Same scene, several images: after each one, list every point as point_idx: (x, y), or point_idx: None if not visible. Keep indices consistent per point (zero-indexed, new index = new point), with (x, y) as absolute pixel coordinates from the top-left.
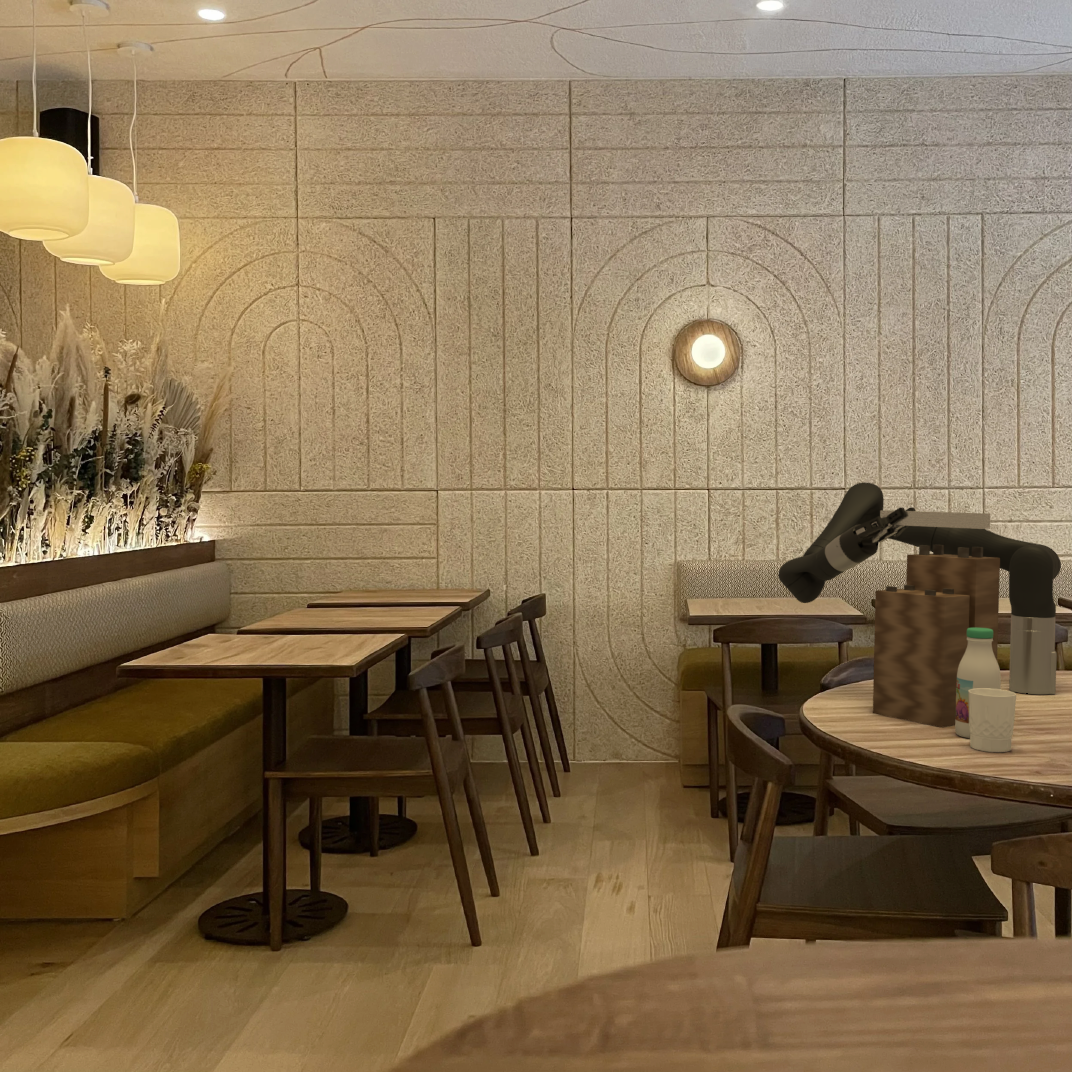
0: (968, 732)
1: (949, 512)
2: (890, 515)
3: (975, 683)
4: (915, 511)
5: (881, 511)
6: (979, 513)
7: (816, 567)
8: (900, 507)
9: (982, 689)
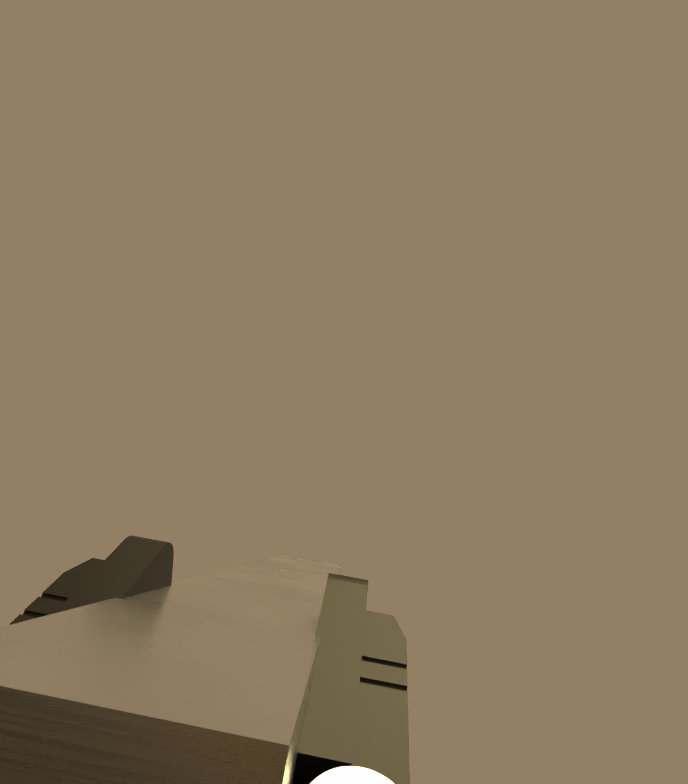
0: None
1: (314, 571)
2: (404, 744)
3: None
4: (316, 597)
5: (286, 764)
6: (332, 564)
7: None
8: (366, 580)
9: None
